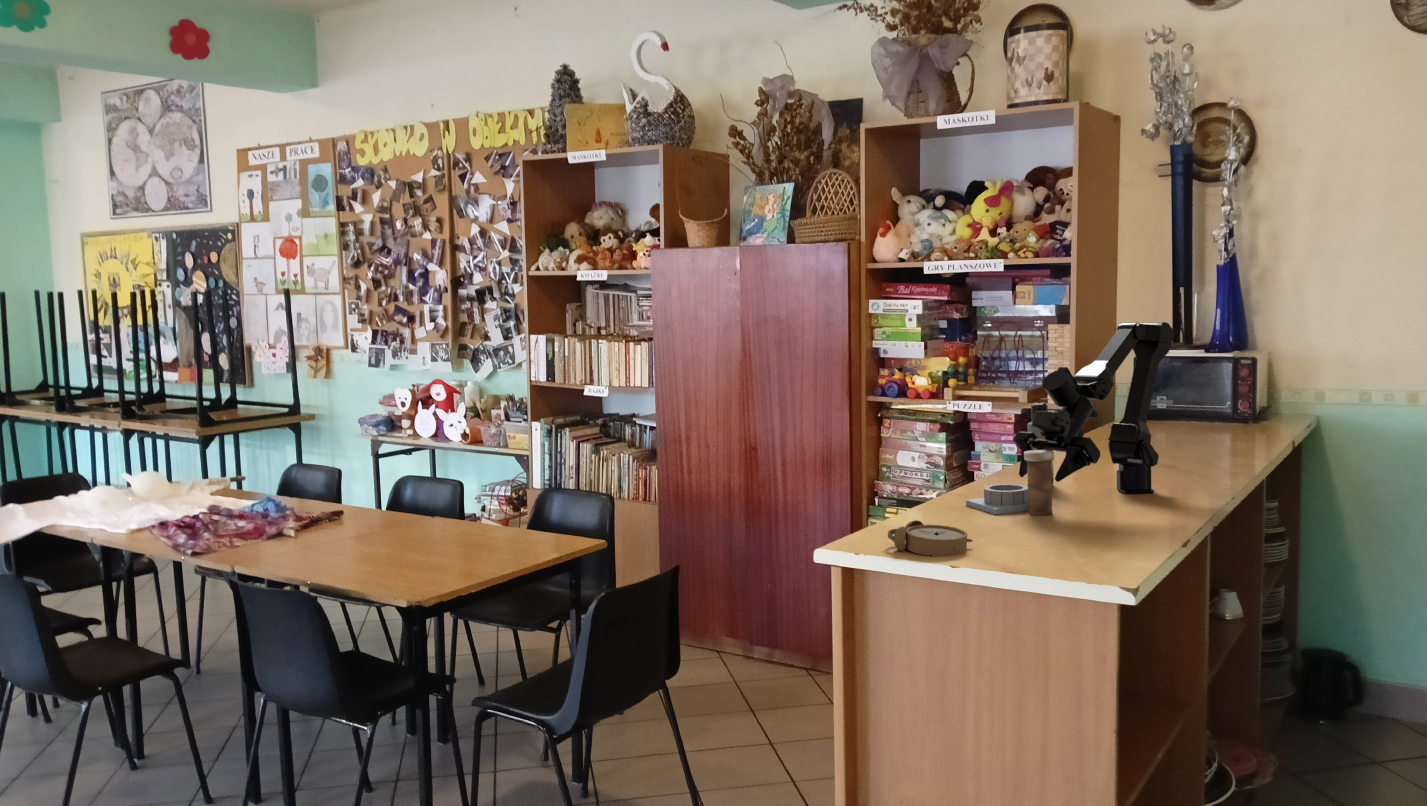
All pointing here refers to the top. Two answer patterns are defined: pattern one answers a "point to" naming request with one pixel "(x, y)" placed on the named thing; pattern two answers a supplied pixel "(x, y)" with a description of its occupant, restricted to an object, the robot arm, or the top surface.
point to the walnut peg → (1039, 481)
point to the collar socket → (1002, 499)
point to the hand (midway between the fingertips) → (1038, 478)
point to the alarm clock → (929, 539)
